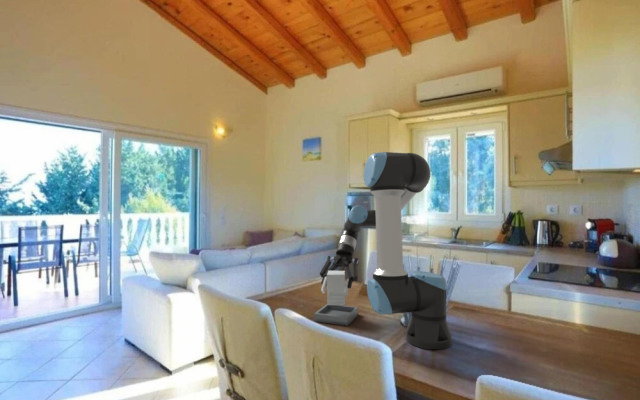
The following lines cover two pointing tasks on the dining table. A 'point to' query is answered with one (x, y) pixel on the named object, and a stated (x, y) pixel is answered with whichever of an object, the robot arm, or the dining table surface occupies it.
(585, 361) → the dining table surface
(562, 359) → the dining table surface
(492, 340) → the dining table surface
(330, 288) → the supplement box
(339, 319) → the holder tray
